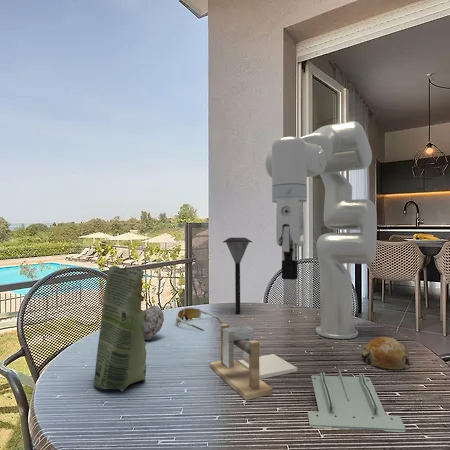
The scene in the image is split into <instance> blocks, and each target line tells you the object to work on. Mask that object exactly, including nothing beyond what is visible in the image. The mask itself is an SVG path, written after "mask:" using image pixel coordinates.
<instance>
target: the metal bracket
mask: <svg viewBox="0 0 450 450" xmlns="http://www.w3.org/2000/svg"><path fill="white" fill-rule="evenodd" d="M319 373H320V375H316V374H315V375H314V374H313V375H311V376H310V377H311V382H312V386H313V390H314V395H315V399H316V404H317V410H318V411H308V412H307V418H308V424H309V427H310V428H313V429H327V430H329V429H330V430H331V429H350V430H351V429H352V430H373V431H384V432H394V433H395V432H396V433H399V432H400V433H405V432H407V429H406V426H405V424H404V422H403V420H402V418H401V417H400V415H388V414H387V413H386V412H385V409H384V406H383V405H382V402H381V401H380V398H379V395H378V394H377V391H376V389H375V387H374V385H373V383H372V381H371V378H370V377H369V376H365V374H364V373H359V375H358V376H343V375H342V373H341V370H340V369H338V376H337V375H326V374H325V372H321V371H320V372H319Z"/></svg>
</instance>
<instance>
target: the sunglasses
mask: <svg viewBox="0 0 450 450" xmlns="http://www.w3.org/2000/svg"><path fill="white" fill-rule="evenodd" d="M202 314H203V315H209V316H211V317H212V318H215V319H217V320H218V321H219V323H220V324H224V323H223V320H222V319H220V318H219V316H217V315H215V314H213V313H211V312H208V311H206V310H201V308H199V307H198V308H197V307H194V306H193V307H192V306H191V307H190V306H189V307H187V306H186V307H183V308H180V309H179V310H177V312H176V318H175V322H176V326H177V325H178V323H179V322H182V323H183V324H185V325H187V326H188V327H192V328H194V329H198V330H199V331H201V330H202V331H201V332H203V331H204V332H205V331H206V330H205V329H204V328H202V327H200V326H197V325H196V324H193V323H190V322H187V321H186V320H188V319H192V318H200V319H201V317H202V316H201V315H202ZM185 319H186V320H185ZM188 321H189V320H188ZM179 324H180V323H179ZM178 326H179V325H178ZM206 332H207V331H206Z"/></svg>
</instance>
